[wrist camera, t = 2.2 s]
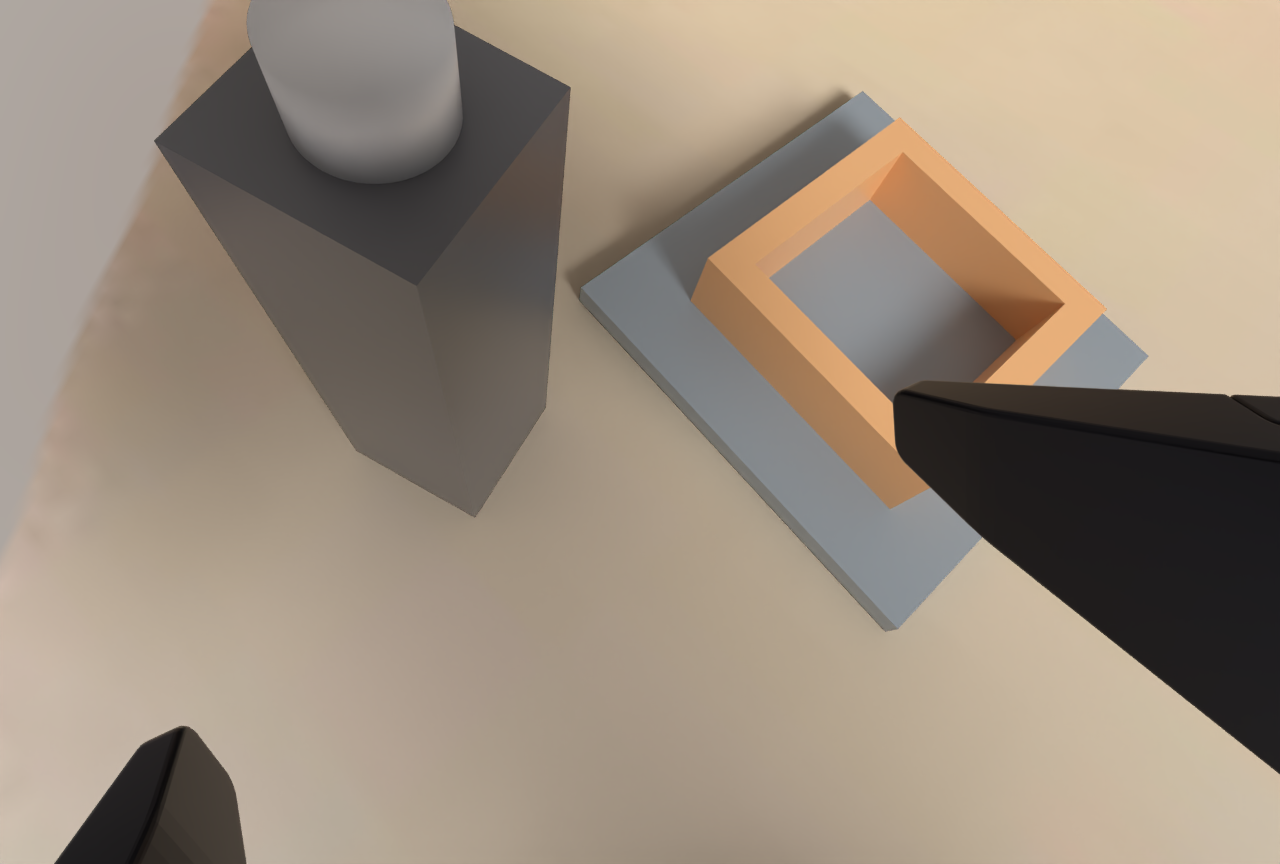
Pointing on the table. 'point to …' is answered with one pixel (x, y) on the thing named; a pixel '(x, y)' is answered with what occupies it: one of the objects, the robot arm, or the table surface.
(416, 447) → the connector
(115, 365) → the table surface
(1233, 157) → the table surface
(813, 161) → the holder
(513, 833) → the table surface
